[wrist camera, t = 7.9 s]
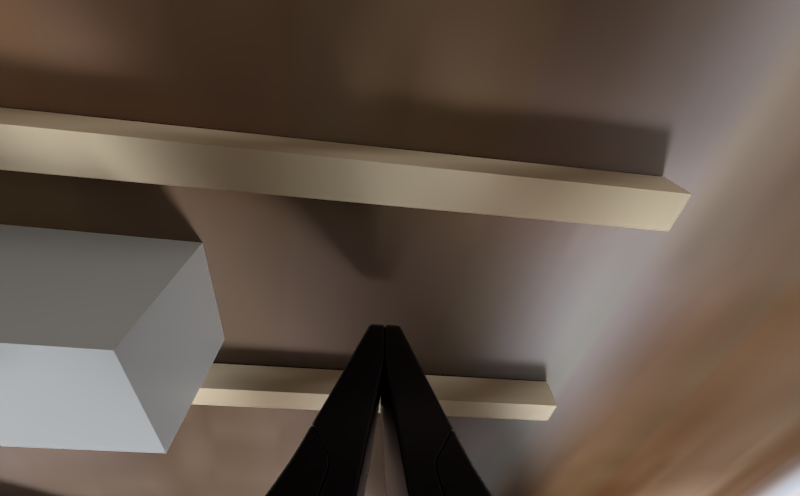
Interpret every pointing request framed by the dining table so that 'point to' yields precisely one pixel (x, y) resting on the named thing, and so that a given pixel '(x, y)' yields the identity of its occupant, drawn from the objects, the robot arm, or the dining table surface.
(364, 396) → the robot arm
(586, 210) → the guide rails
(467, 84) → the dining table surface
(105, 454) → the dining table surface
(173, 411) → the gray rectangular bar
